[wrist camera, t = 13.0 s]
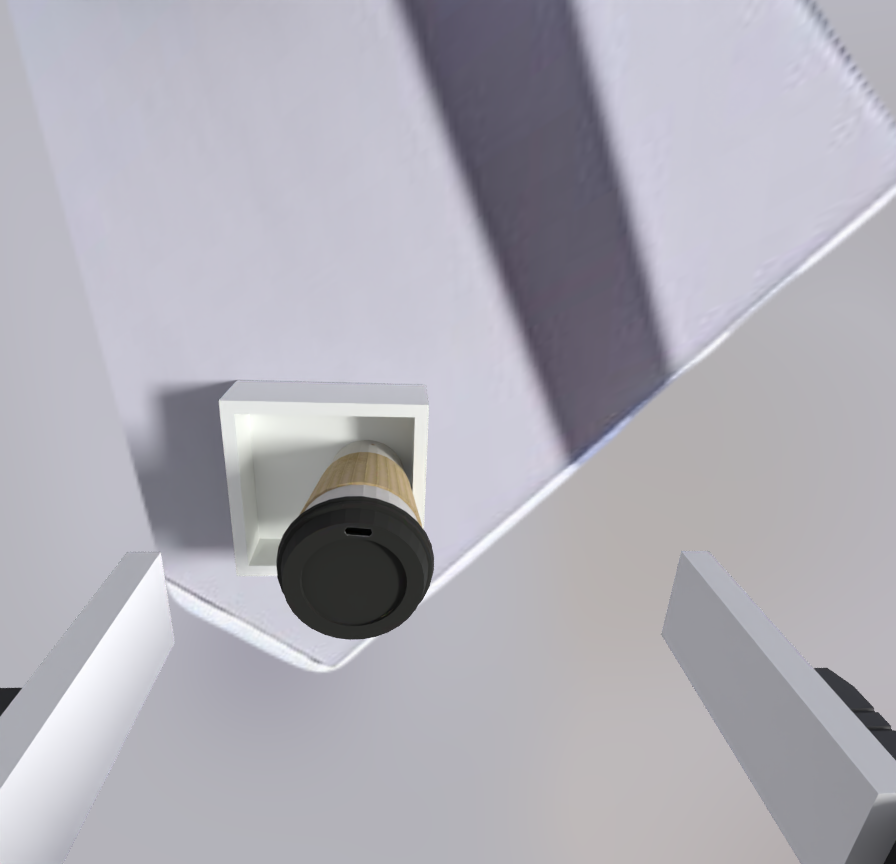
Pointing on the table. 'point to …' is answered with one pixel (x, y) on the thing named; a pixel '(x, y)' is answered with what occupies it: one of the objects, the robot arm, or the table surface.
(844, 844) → the robot arm
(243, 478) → the bin
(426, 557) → the coffee cup
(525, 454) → the table surface
